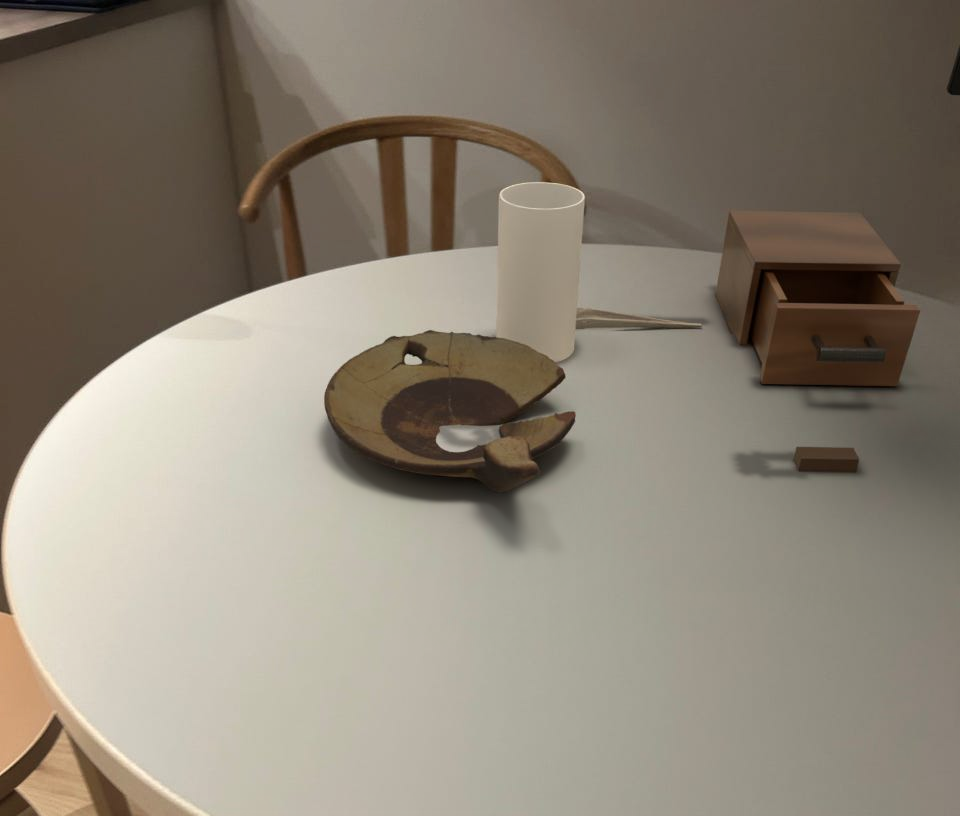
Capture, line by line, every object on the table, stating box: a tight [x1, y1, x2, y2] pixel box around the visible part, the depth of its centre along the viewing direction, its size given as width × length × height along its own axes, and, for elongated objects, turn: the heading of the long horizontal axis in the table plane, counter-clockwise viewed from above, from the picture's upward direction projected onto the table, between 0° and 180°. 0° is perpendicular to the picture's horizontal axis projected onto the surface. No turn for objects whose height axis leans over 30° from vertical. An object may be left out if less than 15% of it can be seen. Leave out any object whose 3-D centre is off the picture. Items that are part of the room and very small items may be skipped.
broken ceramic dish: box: [323, 329, 577, 493], centre depth 87 cm, size 22×30×8 cm
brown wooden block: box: [793, 446, 860, 473], centre depth 87 cm, size 10×3×2 cm, turn 89°
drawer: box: [749, 269, 921, 387], centre depth 99 cm, size 19×13×8 cm
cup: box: [495, 181, 586, 363], centre depth 100 cm, size 8×8×16 cm
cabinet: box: [715, 210, 902, 347], centre depth 108 cm, size 16×15×10 cm
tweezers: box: [575, 306, 703, 330], centre depth 110 cm, size 17×5×2 cm, turn 90°
